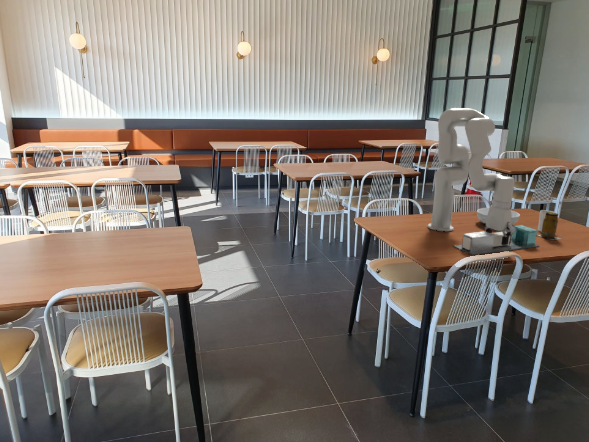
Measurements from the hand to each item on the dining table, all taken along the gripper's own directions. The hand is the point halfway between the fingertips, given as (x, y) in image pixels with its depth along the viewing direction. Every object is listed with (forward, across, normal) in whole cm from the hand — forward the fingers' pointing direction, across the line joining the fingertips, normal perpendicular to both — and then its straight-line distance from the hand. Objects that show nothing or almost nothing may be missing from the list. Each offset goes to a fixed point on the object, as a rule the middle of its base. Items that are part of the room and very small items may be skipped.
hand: (495, 241), depth 196 cm
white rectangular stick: (+2, 0, -5) cm, 5 cm away
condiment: (+3, -3, +38) cm, 38 cm away
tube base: (+3, 0, +1) cm, 3 cm away
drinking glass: (+3, -12, +45) cm, 47 cm away
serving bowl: (+3, -29, +30) cm, 42 cm away
